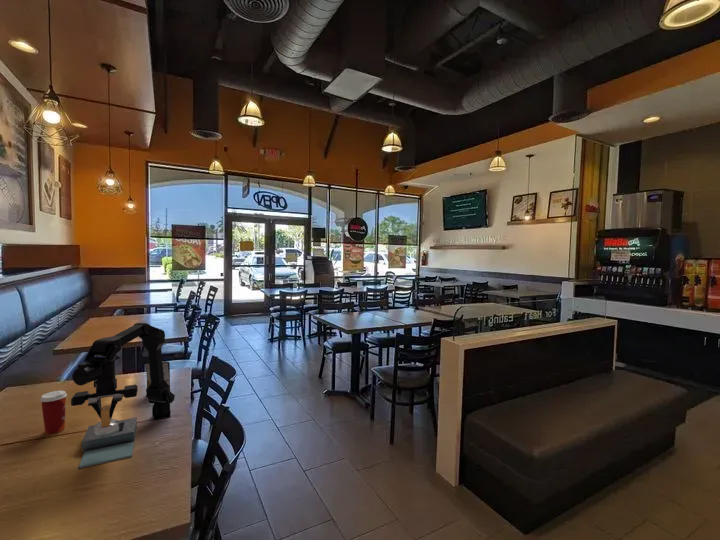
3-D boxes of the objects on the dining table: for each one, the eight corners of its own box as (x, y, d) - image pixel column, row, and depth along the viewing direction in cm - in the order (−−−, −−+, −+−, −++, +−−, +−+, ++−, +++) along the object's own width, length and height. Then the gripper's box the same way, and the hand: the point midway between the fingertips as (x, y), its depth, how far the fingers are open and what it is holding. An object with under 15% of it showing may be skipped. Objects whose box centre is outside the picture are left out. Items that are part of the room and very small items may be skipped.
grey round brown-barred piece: (120, 425, 132) (119, 401, 132) (117, 434, 126) (117, 409, 125) (96, 429, 129) (95, 405, 128) (92, 439, 122) (91, 413, 122)
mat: (134, 443, 135) (134, 441, 135) (131, 456, 127) (131, 455, 126) (84, 453, 128) (84, 451, 128) (78, 468, 119) (78, 466, 119)
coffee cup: (72, 428, 146) (71, 392, 145) (48, 437, 139) (46, 399, 138) (61, 423, 150) (59, 388, 149) (36, 432, 142) (35, 395, 141)
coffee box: (170, 392, 183) (170, 361, 182) (160, 397, 177) (159, 365, 176) (157, 390, 186) (156, 359, 185) (146, 394, 180) (145, 363, 179)
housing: (137, 426, 148) (136, 417, 147) (134, 441, 136) (134, 431, 136) (89, 435, 140) (88, 426, 140) (82, 452, 129) (81, 441, 128)
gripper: (138, 365, 138) (139, 404, 138) (77, 372, 129) (78, 414, 130) (135, 373, 128) (136, 416, 129) (70, 382, 119) (71, 427, 120)
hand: (106, 418), depth 127 cm, fingers closed on grey round brown-barred piece, 2 cm apart
